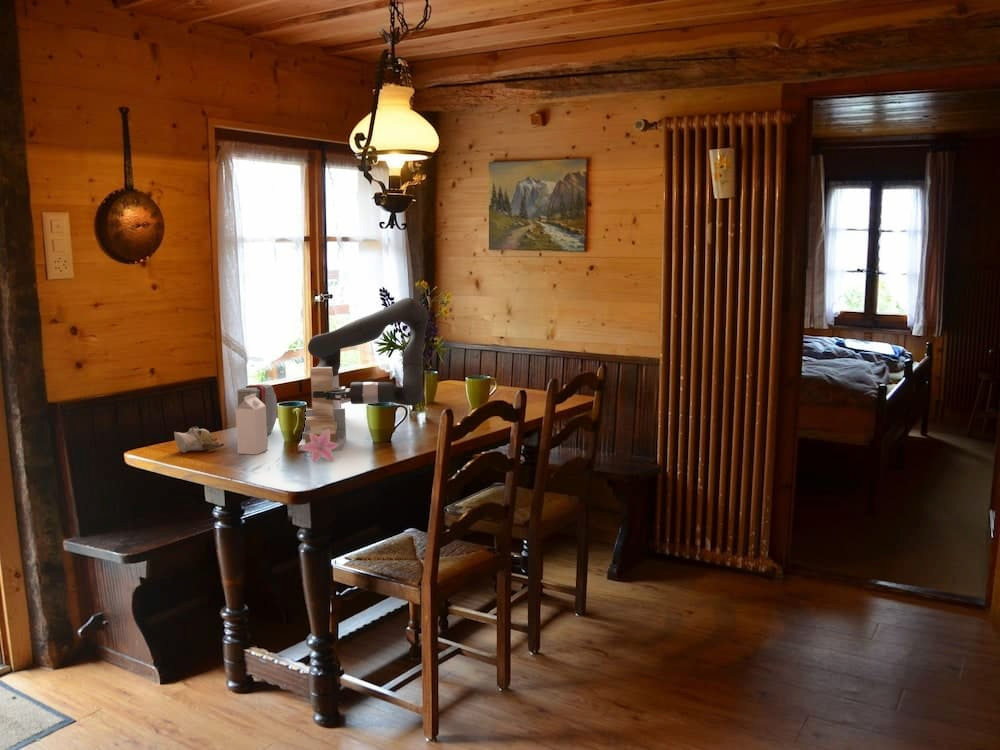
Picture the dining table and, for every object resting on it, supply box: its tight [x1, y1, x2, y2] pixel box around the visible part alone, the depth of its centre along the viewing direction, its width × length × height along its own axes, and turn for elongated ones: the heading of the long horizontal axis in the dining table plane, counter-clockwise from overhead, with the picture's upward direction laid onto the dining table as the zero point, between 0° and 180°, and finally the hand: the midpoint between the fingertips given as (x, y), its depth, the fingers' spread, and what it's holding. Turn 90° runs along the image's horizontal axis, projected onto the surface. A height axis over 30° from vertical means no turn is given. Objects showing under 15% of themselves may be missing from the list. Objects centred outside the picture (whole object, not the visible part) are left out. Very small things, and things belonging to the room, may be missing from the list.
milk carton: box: [234, 393, 269, 455], centre depth 287 cm, size 7×7×19 cm
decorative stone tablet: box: [236, 384, 278, 436], centre depth 308 cm, size 19×6×30 cm
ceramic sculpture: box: [173, 425, 225, 454], centre depth 290 cm, size 11×9×15 cm
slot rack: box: [297, 407, 347, 452], centre depth 296 cm, size 16×14×11 cm
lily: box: [300, 429, 339, 463], centre depth 278 cm, size 11×11×9 cm
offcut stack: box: [305, 416, 338, 443], centre depth 294 cm, size 6×10×8 cm, turn 94°
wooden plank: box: [310, 366, 334, 421], centre depth 299 cm, size 2×7×24 cm, turn 94°
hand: (314, 393), depth 298 cm, fingers closed on wooden plank, 2 cm apart
